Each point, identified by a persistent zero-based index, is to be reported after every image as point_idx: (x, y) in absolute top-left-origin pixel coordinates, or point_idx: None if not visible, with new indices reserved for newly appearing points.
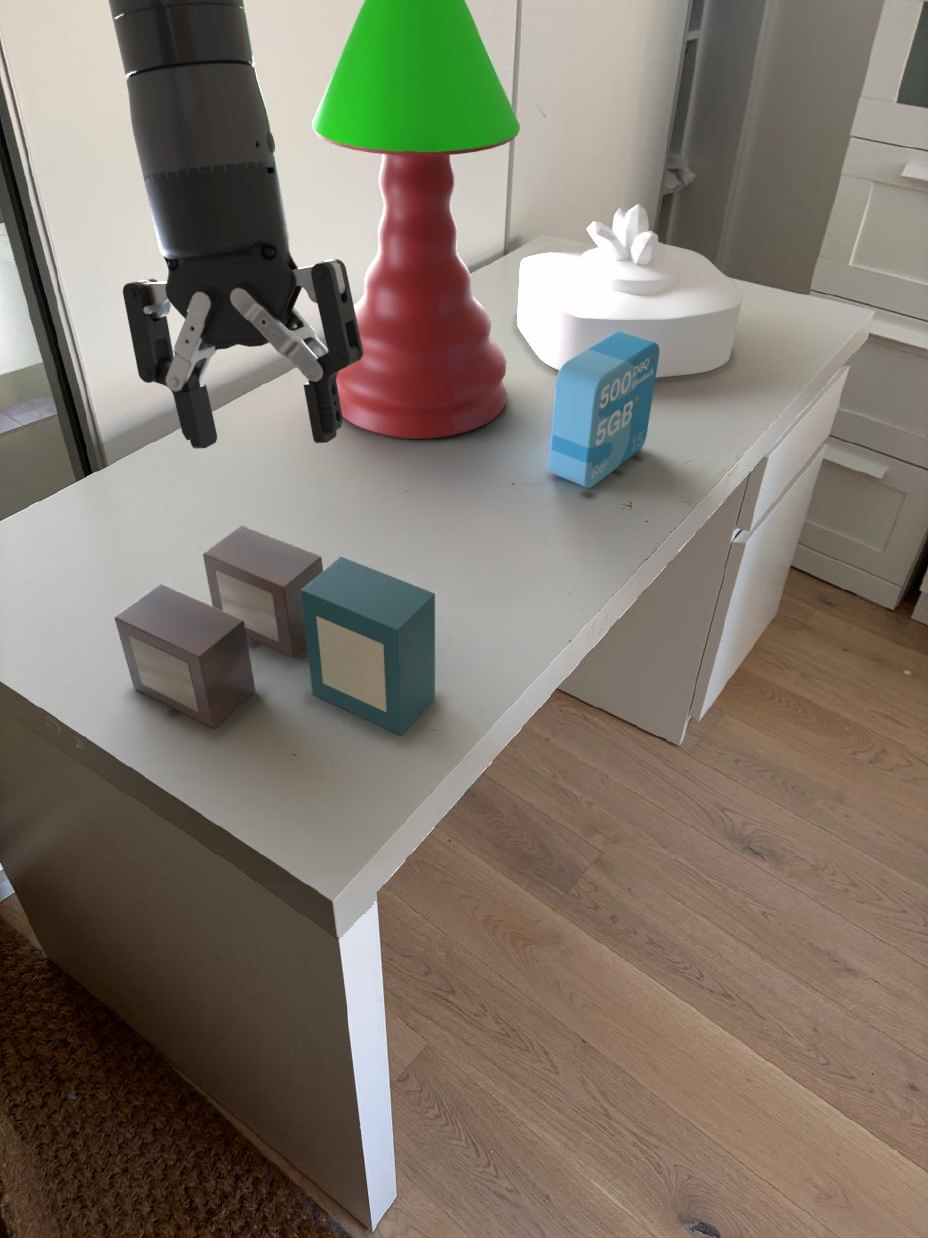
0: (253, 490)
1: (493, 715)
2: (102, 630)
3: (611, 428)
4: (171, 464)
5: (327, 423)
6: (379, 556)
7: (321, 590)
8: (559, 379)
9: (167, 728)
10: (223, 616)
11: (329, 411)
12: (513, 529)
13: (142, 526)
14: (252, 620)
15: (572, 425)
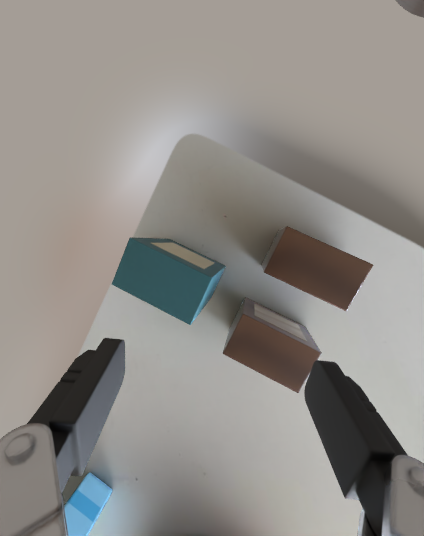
0: (318, 479)
1: None
2: (387, 313)
3: None
4: None
5: (87, 361)
6: (210, 400)
7: (195, 279)
8: None
9: (309, 227)
10: (280, 274)
11: (67, 376)
12: (131, 429)
13: (397, 435)
14: (274, 315)
15: (70, 526)
